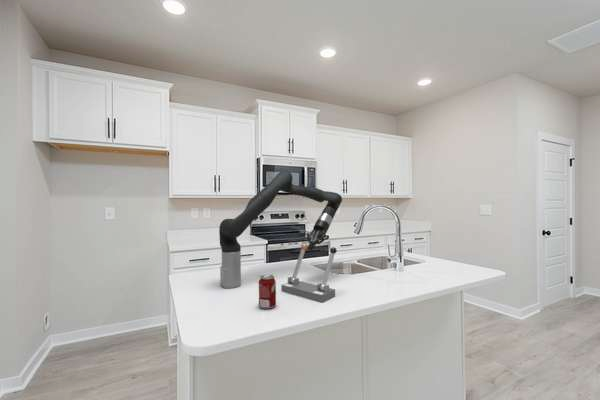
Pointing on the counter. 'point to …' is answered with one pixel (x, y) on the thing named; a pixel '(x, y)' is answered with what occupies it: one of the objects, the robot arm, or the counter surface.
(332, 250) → the black lever
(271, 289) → the soda can
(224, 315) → the counter surface
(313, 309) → the counter surface
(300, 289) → the switch bar
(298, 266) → the copper lever
